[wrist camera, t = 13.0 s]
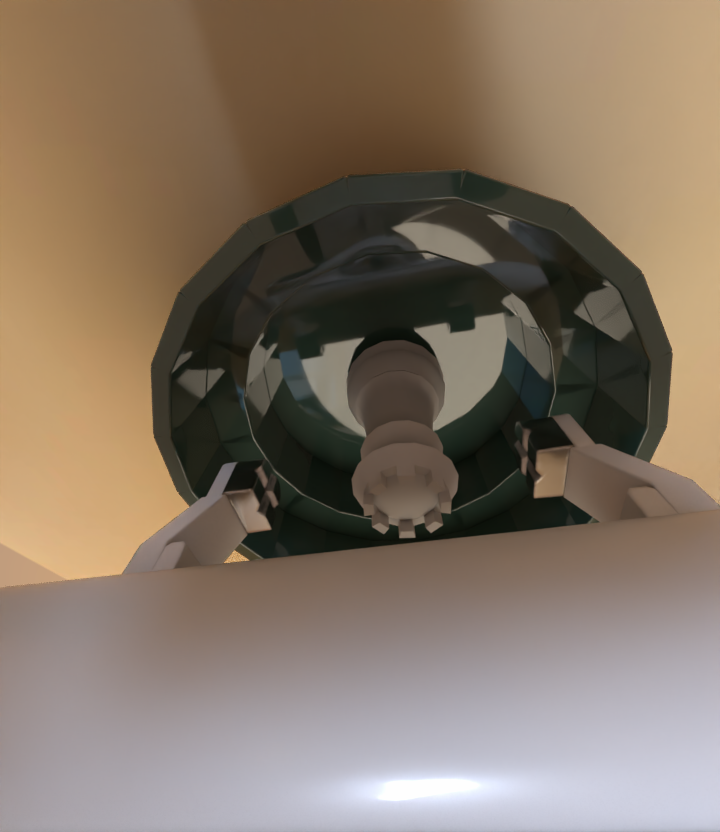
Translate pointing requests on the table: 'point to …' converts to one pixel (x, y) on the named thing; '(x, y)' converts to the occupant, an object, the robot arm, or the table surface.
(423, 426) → the rook chess piece
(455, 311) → the dark green pet bowl
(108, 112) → the table surface
